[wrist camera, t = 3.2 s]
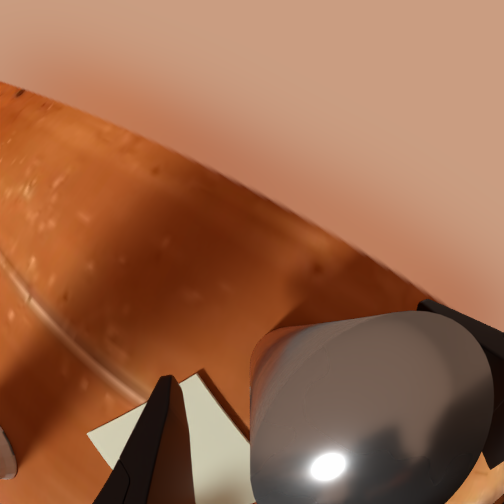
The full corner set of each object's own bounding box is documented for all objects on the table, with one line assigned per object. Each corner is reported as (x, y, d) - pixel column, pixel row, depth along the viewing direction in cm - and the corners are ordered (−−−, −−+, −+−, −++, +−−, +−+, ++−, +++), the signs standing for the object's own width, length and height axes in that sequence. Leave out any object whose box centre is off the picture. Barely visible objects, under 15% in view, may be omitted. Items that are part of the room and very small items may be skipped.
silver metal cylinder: (341, 371, 15) (512, 427, 3) (279, 416, 14) (339, 574, 2) (299, 311, 16) (428, 252, 4) (234, 355, 15) (184, 433, 3)
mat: (285, 483, 13) (286, 486, 13) (172, 529, 12) (171, 532, 11) (197, 372, 15) (195, 373, 15) (89, 431, 14) (86, 433, 13)
